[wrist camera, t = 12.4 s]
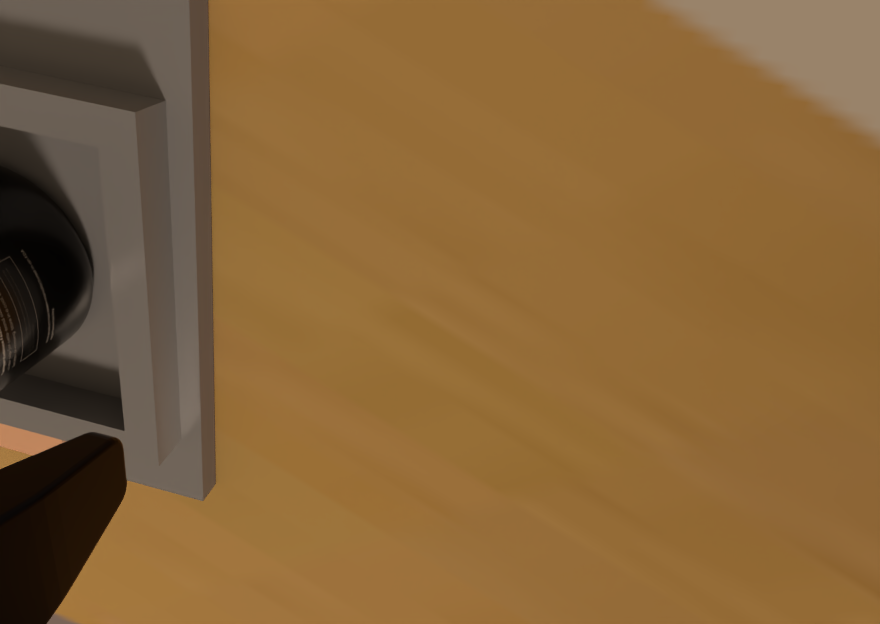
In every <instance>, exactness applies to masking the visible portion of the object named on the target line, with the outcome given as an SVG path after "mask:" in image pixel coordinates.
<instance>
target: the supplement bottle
mask: <svg viewBox="0 0 880 624" xmlns="http://www.w3.org/2000/svg"><path fill="white" fill-rule="evenodd" d="M92 297H93V276H92V269H91V265H90V261H89V258H88V255H87V252H86V249H85V247H84V244H83V242H82V240H81V238H80V236H79V234H78V232H77V231H76V229H75V227H74V226H73V224H72V223H71V221H70V220H69V219H68V217H67V216H66V215H65V213H64V212H63V211H62V210H61V208H60V207H59V206H58V205H57V204H56V203H55V202H54V201H53V200H52V199H51V198H50V197H49V196H48V195H47V194H46V193H45V192H44V191H42V190H41V189H40V188H39V187H38V186H36V185H35V184H34V183H32V182H31V181H29V180H28V179H26V178H25V177H23V176H21V175H20V174H18V173H16V172H14V171H12V170H10V169H8V168H6V167H3V166H1V165H0V391H1V390H2V389H4V388H5V387H6V386H8V385H9V384H10V383H12V382H13V381H14V380H16V379H17V378H18V377H20V376H21V375H22V374H24V373H25V372H26V371H28V370H29V369H30V368H32V367H33V366H34V365H36V364H37V363H38V362H40V361H41V360H43V359H44V358H45V357H47V356H48V355H49V354H50V353H52V352H53V351H54V350H55V349H57V348H58V347H59V346H61V345H62V344H63V343H64V342H66V341H67V340H68V339H69V338H71V337H72V336H73V335H74V334H75V333H76V332H77V331H78V330H79V329H80V327H81V326H82V324H83V323H84V321H85V319H86V317H87V315H88V313H89V310H90V307H91V302H92Z"/></svg>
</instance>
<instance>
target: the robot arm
mask: <svg viewBox="0 0 880 624" xmlns="http://www.w3.org/2000/svg"><path fill="white" fill-rule="evenodd" d="M126 487H127V478H126V468H125V458H124V448H123V444H122V442H121V441H120V439H118V438H116V437H112V436H109V435H105V434H101V433H97V432H88V433H85V434H82V435H80V436H78V437H75V438H73V439H71V440H68V441H66V442H64V443H61V444H59V445H56V446H54V447H52V448H49V449H47V450H45V451H42V452H40V453H38V454H35V455H33V456H31V457H28V458H26V459H23V460H21V461H19V462H16V463H14V464H12V465H9V466H7V467H5V468H2V469H0V624H47V622H48V621H49V619H50V618H51V617H52V615H53V614H54V612H55V611H56V610H57V608H58V607H59V605H60V604H61V602H62V601H63V599H64V598H65V596H66V595H67V593H68V591H69V590H70V588H71V587H72V585H73V583H74V582H75V580H76V578H77V577H78V575H79V573H80V572H81V570H82V568H83V566H84V565H85V563H86V561H87V560H88V558H89V556H90V555H91V553H92V551H93V550H94V548H95V546H96V544H97V543H98V541H99V539H100V538H101V536H102V534H103V533H104V531H105V529H106V527H107V526H108V524H109V522H110V521H111V519H112V517H113V516H114V514H115V512H116V511H117V509H118V507H119V505H120V504H121V502H122V500H123V498H124V495H125V492H126Z"/></svg>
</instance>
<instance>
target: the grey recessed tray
mask: <svg viewBox="0 0 880 624" xmlns="http://www.w3.org/2000/svg"><path fill="white" fill-rule="evenodd" d="M0 165H1V166H3V167H6V168H8V169H10V170H12V171H14V172H16V173H18V174H20V175H21V176H23V177H25V178H26V179H28V180H29V181H31V182H32V183H34V184H35V185H36V186H38V187H39V188H40V189H41V190H42V191H44V192H45V193H46V194H47V195H48V196H49V197H50V198H51V199H52V200H53V201H54V202H55V203H56V204H57V205H58V206H59V207H60V208H61V210H62V211H63V212H64V213H65V215H66V216H67V217H68V219H69V220H70V221H71V223H72V224H73V226H74V227H75V229H76V231H77V232H78V234H79V236H80V238H81V240H82V242H83V244H84V247H85V249H86V252H87V255H88V258H89V261H90V265H91V269H92V276H93V297H92V302H91V307H90V310H89V313H88V315H87V317H86V319H85V321H84V323H83V324H82V326H81V327H80V329H79V330H78V331H77V332H76V333H75V334H74V335H73V336H72V337H71V338H69V339H68V340H67V341H66V342H64V343H63V344H62V345H61V346H59V347H58V348H57V349H55V350H54V351H53V352H52V353H50V354H49V355H48V356H47V357H45V358H44V359H43V360H41V361H40V362H38V363H37V364H36V365H34V366H33V367H32V368H30V369H29V370H28V371H26V372H25V373H24V374H22V375H21V376H20V377H18V378H17V379H16V380H14V381H13V382H12V383H10V384H9V385H8V386H6V387H5V388H4V389H2V390H1V391H0V446H1V447H5V448H8V449H12V450H15V451H19V452H23V453H26V454H30V455H35V454H38V453H40V452H42V451H45V450H47V449H49V448H52V447H54V446H56V445H59V444H61V443H64V442H66V441H68V440H71V439H73V438H75V437H78V436H80V435H82V434H85V433H88V432H97V433H101V434H105V435H109V436H112V437H116V438H118V439H120V441H121V442H122V444H123V448H124V458H125V468H126V478H127V480H128V481H132V482H136V483H139V484H143V485H146V486H150V487H154V488H157V489H161V490H165V491H168V492H172V493H176V494H179V495H183V496H186V497H190V498H194V499H197V500H201V501H204V499H205V498H206V496H207V495H208V494H209V492H210V491H211V489H212V488H213V487H214V485H215V484H216V479H215V415H214V352H213V289H212V226H211V163H210V100H209V36H208V0H0Z"/></svg>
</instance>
